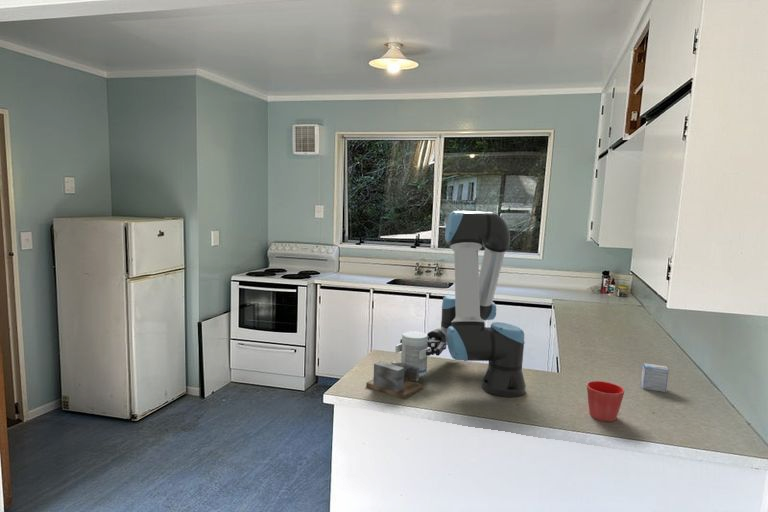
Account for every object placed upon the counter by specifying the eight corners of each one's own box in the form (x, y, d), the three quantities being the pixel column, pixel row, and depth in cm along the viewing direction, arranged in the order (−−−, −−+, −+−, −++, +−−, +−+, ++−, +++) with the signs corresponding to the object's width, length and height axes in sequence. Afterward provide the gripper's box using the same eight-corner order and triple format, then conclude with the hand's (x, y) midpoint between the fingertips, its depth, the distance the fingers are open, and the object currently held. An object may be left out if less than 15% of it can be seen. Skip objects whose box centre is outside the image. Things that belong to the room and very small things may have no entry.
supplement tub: (431, 375, 177) (433, 336, 175) (410, 379, 171) (412, 339, 170) (415, 366, 185) (417, 329, 183) (395, 370, 179) (397, 332, 177)
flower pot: (577, 408, 157) (580, 380, 156) (609, 408, 158) (612, 380, 157) (594, 424, 147) (597, 393, 146) (628, 424, 148) (631, 393, 147)
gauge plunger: (418, 380, 171) (419, 368, 170) (409, 385, 166) (410, 372, 165) (392, 372, 177) (392, 360, 177) (382, 377, 172) (383, 365, 172)
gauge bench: (422, 388, 168) (423, 364, 167) (404, 399, 159) (405, 373, 158) (385, 377, 178) (386, 353, 177) (366, 386, 168) (367, 361, 167)
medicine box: (663, 388, 179) (666, 366, 178) (666, 392, 174) (669, 369, 173) (640, 384, 181) (642, 362, 180) (642, 389, 177) (644, 366, 176)
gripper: (462, 354, 186) (434, 369, 167) (414, 342, 198) (382, 355, 180) (464, 335, 185) (435, 348, 167) (415, 324, 197) (383, 335, 179)
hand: (408, 352), depth 173 cm, fingers closed on supplement tub, 9 cm apart
